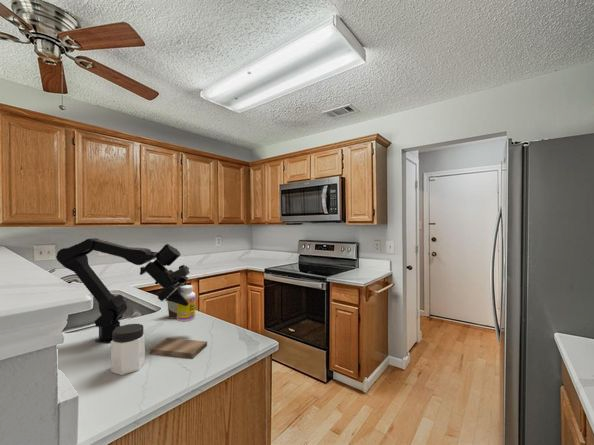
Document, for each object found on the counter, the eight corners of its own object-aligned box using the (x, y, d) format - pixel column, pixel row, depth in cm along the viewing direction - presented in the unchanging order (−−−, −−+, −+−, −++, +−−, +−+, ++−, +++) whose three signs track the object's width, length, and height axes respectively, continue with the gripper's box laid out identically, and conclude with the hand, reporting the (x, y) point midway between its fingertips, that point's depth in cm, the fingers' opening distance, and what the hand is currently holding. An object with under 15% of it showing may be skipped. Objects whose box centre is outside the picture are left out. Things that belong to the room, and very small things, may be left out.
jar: (105, 371, 82) (104, 331, 82) (130, 358, 90) (130, 321, 90) (126, 377, 79) (125, 336, 79) (150, 363, 86) (150, 325, 86)
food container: (197, 313, 133) (197, 292, 133) (192, 317, 127) (192, 296, 126) (171, 313, 132) (171, 292, 132) (165, 318, 126) (165, 296, 126)
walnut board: (150, 353, 93) (150, 349, 93) (167, 341, 102) (167, 337, 102) (193, 358, 90) (193, 353, 90) (207, 345, 99) (207, 341, 99)
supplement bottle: (190, 322, 104) (190, 289, 103) (173, 322, 104) (173, 288, 104) (198, 316, 110) (198, 284, 110) (182, 315, 111) (182, 284, 110)
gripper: (167, 263, 97) (199, 294, 98) (183, 256, 116) (210, 282, 117) (143, 285, 96) (176, 316, 98) (163, 275, 115) (190, 300, 116)
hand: (190, 302), depth 107 cm, fingers closed on supplement bottle, 7 cm apart
